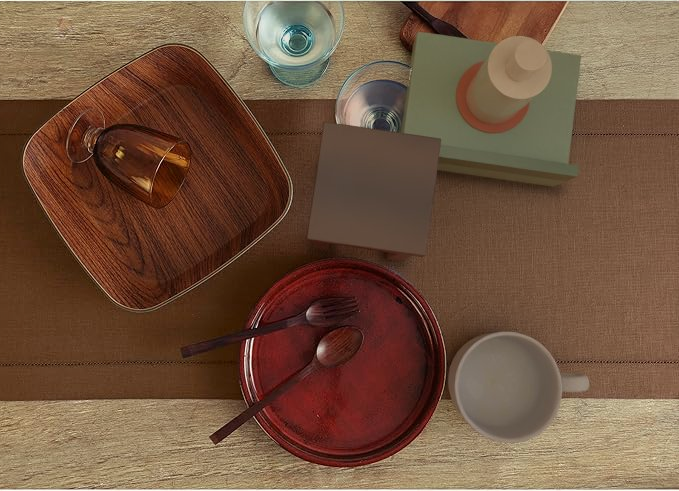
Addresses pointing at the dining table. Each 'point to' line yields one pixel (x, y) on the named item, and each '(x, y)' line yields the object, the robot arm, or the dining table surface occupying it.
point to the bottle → (508, 79)
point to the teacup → (509, 386)
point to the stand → (374, 190)
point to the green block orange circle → (483, 138)
